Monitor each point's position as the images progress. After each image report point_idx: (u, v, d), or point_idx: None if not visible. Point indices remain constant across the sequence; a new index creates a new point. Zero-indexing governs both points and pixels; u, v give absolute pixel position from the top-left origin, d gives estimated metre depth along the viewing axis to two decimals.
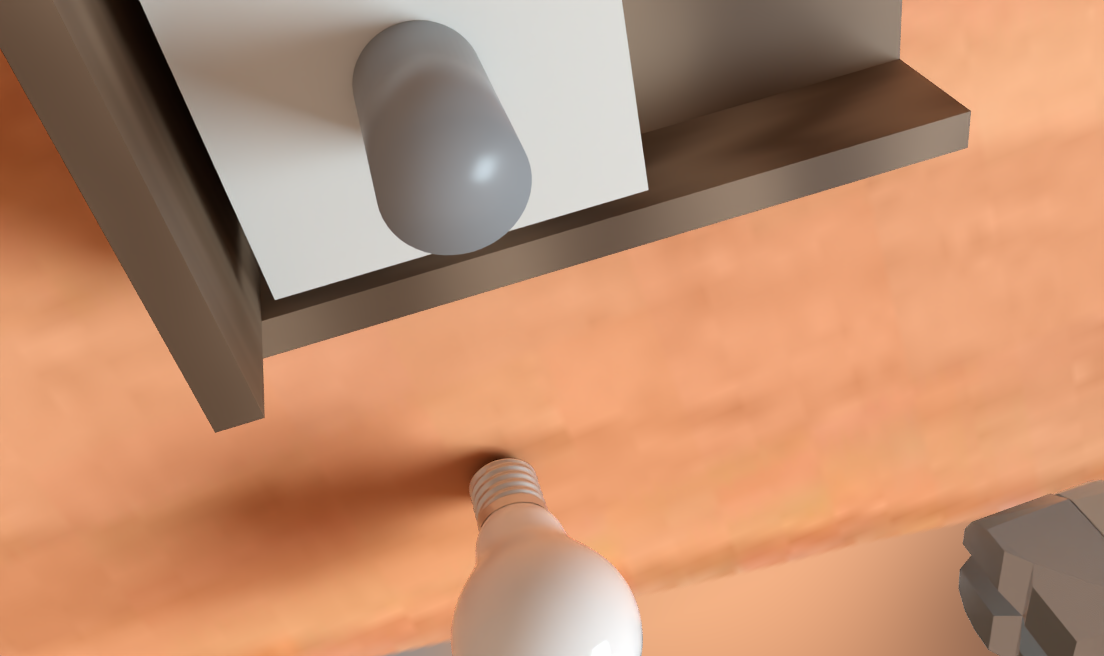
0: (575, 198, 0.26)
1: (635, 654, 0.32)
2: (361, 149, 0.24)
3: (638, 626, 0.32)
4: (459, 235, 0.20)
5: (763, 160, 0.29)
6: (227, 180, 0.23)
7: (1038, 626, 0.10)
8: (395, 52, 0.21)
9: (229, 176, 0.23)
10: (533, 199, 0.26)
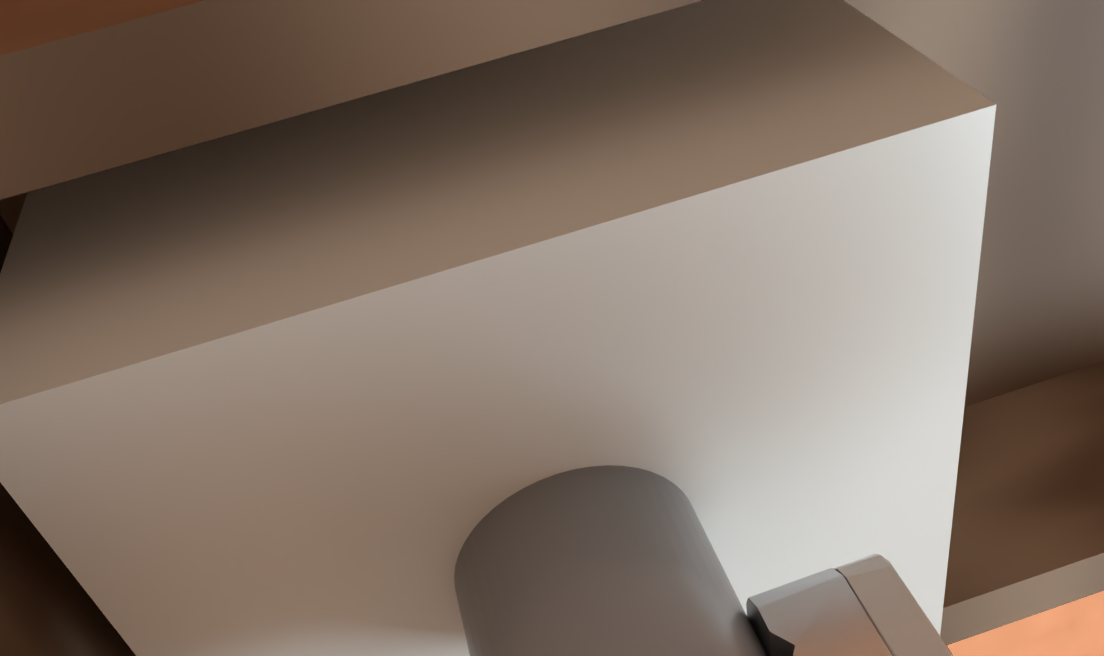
0: None
1: None
2: None
3: None
4: None
5: (1082, 526, 0.18)
6: None
7: None
8: (562, 587, 0.10)
9: None
10: None
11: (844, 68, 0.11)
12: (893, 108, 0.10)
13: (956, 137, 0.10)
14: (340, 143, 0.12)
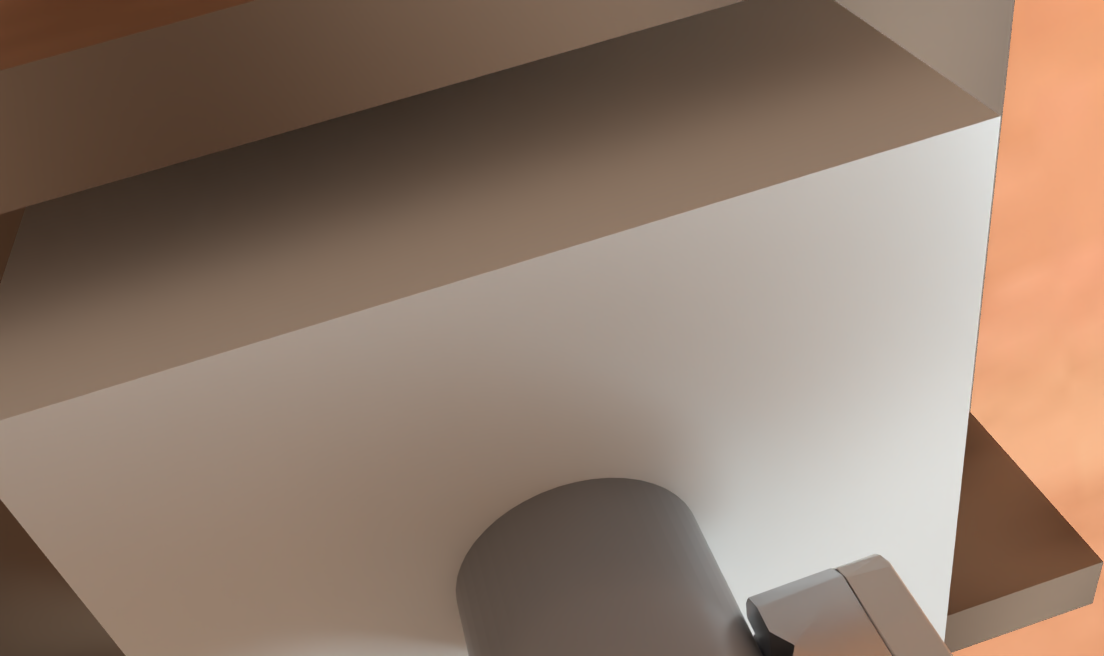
0: None
1: None
2: None
3: None
4: None
5: None
6: None
7: None
8: (565, 602, 0.10)
9: None
10: None
11: (847, 78, 0.11)
12: (898, 119, 0.10)
13: (960, 149, 0.10)
14: (341, 154, 0.11)
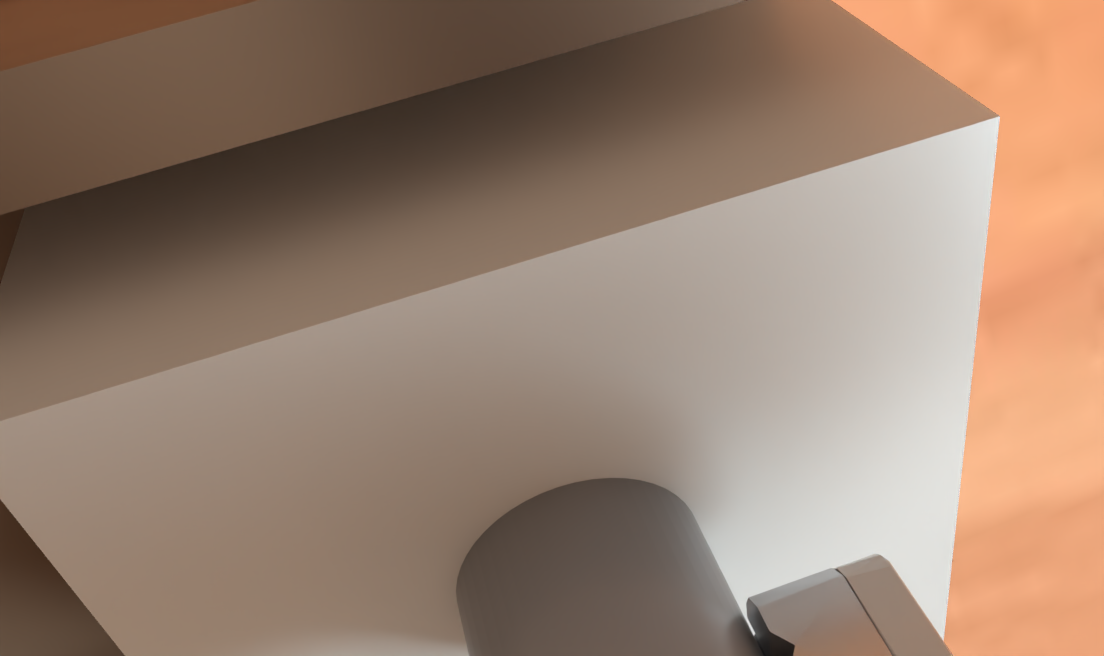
0: None
1: None
2: None
3: None
4: None
5: None
6: None
7: None
8: (565, 602, 0.10)
9: None
10: None
11: (846, 79, 0.11)
12: (896, 120, 0.10)
13: (959, 149, 0.10)
14: (341, 154, 0.11)
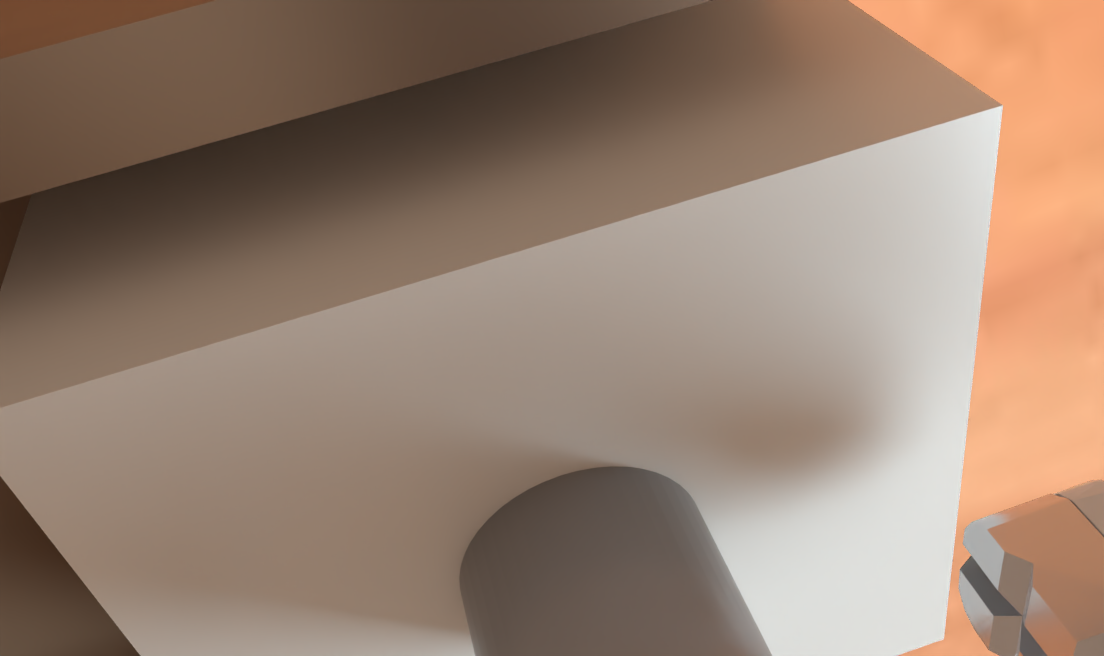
0: None
1: None
2: None
3: None
4: None
5: None
6: None
7: (1037, 626, 0.10)
8: (569, 589, 0.10)
9: None
10: None
11: (849, 68, 0.11)
12: (901, 108, 0.10)
13: (962, 138, 0.10)
14: (345, 144, 0.12)
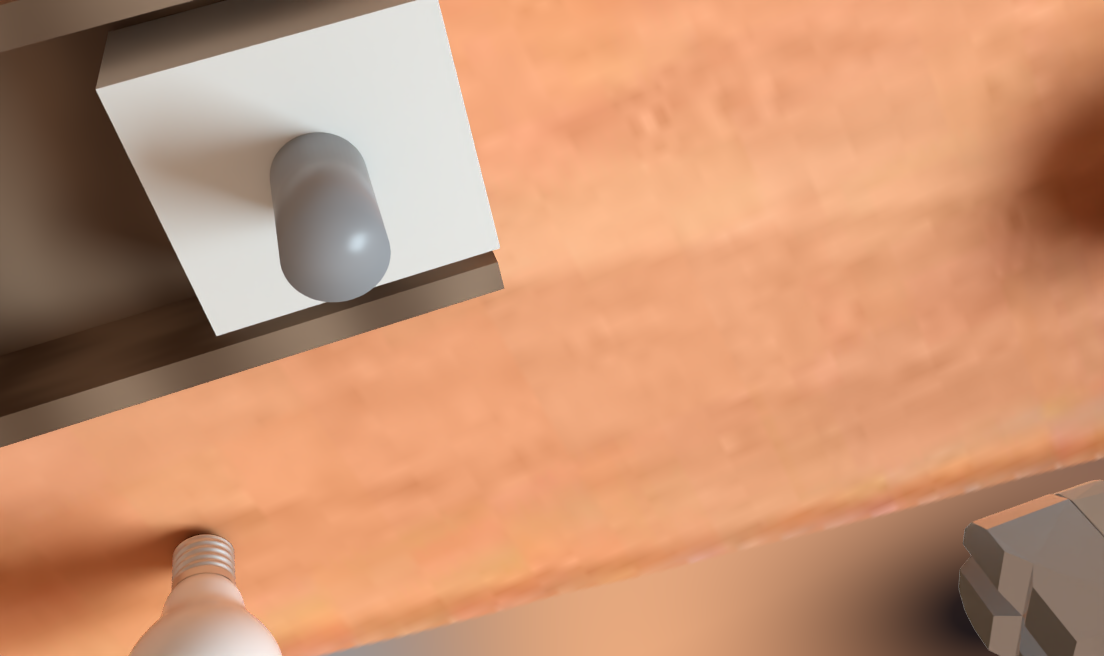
0: (444, 255, 0.34)
1: None
2: None
3: None
4: (341, 288, 0.28)
5: (334, 303, 0.36)
6: (178, 248, 0.32)
7: (1036, 626, 0.10)
8: (297, 158, 0.29)
9: (180, 245, 0.31)
10: (411, 257, 0.34)
11: None
12: None
13: (425, 5, 0.29)
14: (225, 18, 0.31)
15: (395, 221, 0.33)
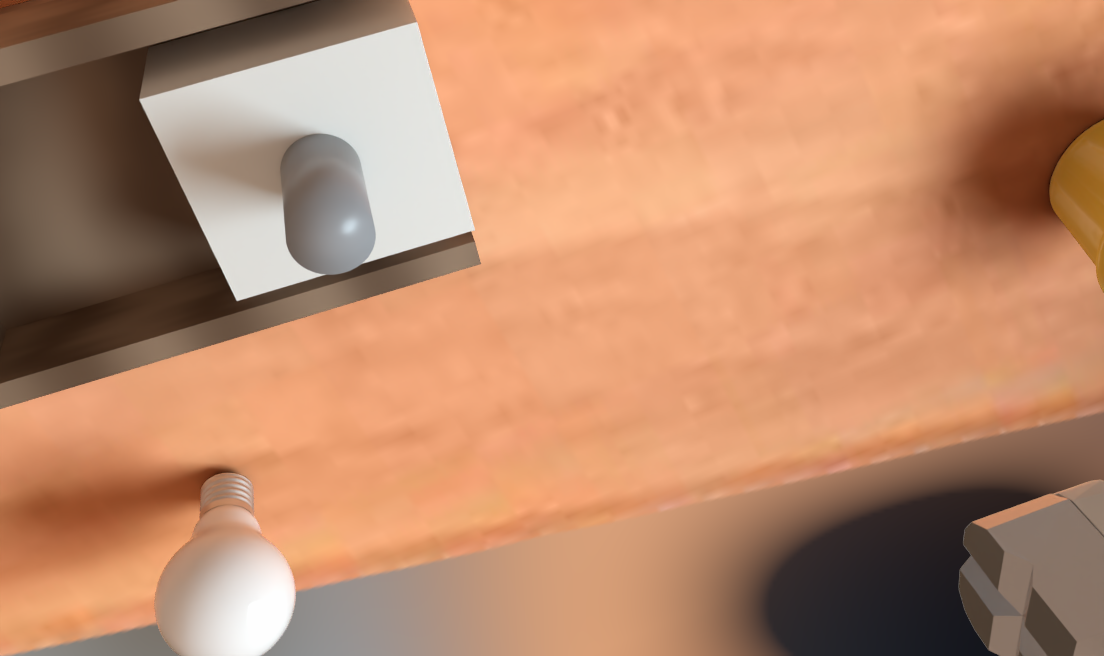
0: (427, 236, 0.41)
1: (278, 610, 0.46)
2: None
3: (283, 590, 0.47)
4: (336, 263, 0.35)
5: (336, 274, 0.43)
6: (205, 228, 0.38)
7: (1038, 626, 0.10)
8: (302, 156, 0.36)
9: (207, 226, 0.38)
10: (399, 237, 0.41)
11: (389, 13, 0.37)
12: (393, 23, 0.36)
13: (407, 31, 0.36)
14: (245, 38, 0.38)
15: (386, 207, 0.40)
